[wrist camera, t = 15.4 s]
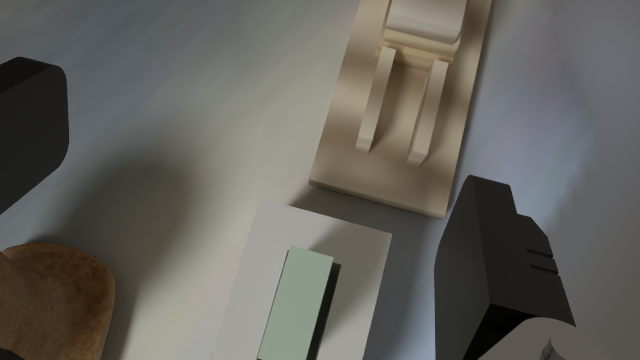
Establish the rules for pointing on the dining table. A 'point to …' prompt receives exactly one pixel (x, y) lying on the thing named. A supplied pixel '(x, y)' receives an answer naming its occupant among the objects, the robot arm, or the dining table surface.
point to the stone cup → (54, 302)
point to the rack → (398, 118)
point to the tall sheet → (296, 305)
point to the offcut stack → (422, 31)
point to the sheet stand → (340, 292)
